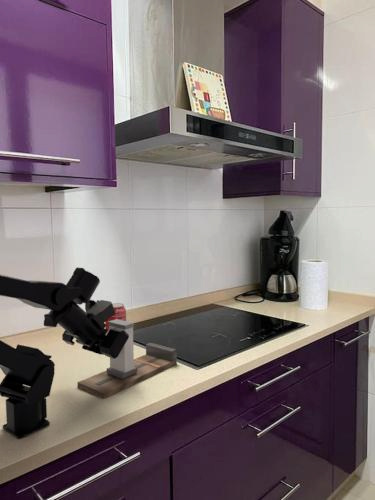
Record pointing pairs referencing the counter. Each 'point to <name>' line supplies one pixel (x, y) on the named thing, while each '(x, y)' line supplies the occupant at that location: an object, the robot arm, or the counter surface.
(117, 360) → the fader tab
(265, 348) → the counter surface
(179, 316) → the counter surface
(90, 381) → the slider base
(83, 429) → the counter surface
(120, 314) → the soda can
